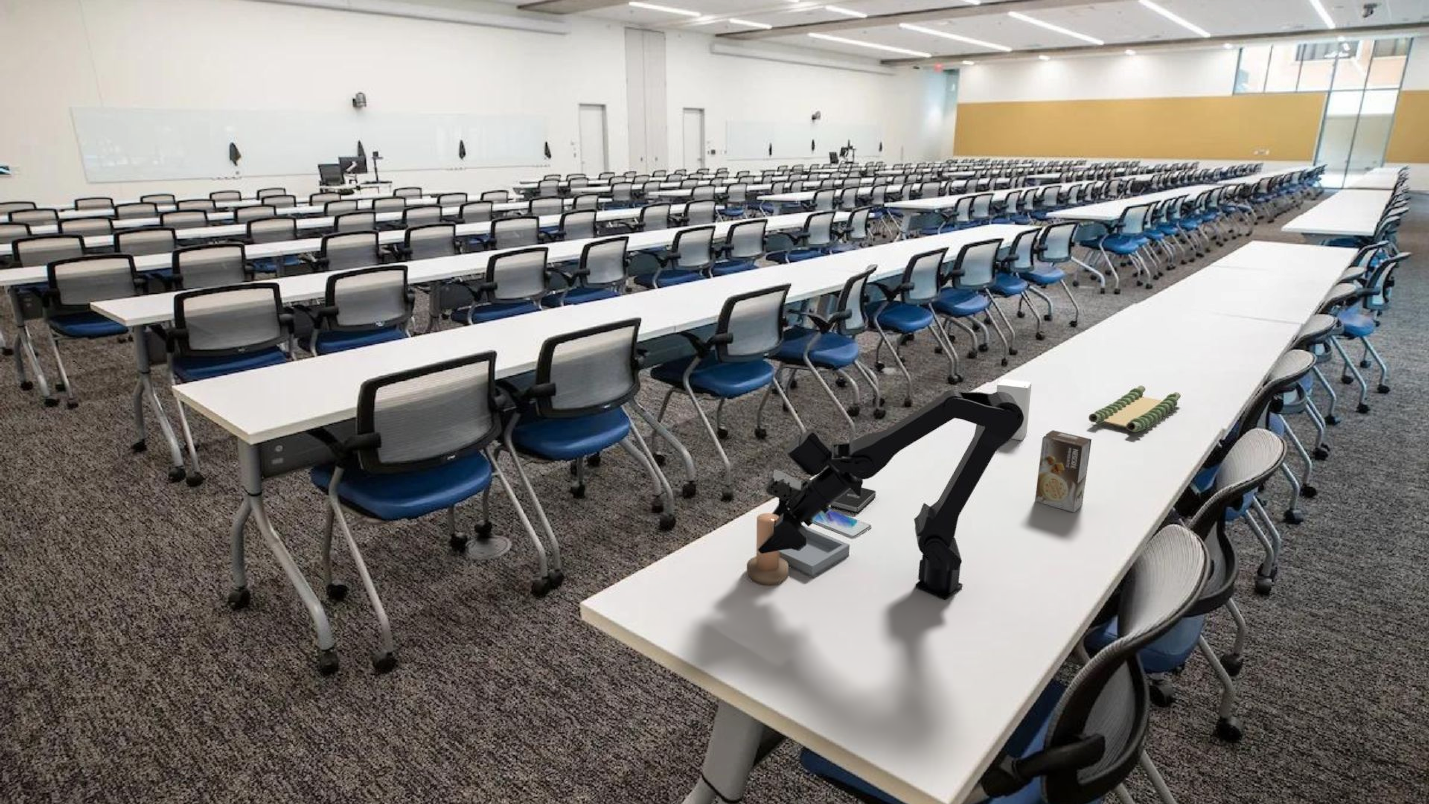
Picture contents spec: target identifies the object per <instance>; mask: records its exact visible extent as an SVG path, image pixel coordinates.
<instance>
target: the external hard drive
mask: <svg viewBox="0 0 1429 804" xmlns="http://www.w3.org/2000/svg"><path fill="white" fill-rule="evenodd" d="M876 493H877V491H876V490H874V489H870V488H866V487H863V486H862V487H861V496H857V495H856V494H855V492H854V491H853V490H852V489H850V490H848V491H847V492H846V493H844V494H843V495H842V496H841V497H839V498H838V499H837V500H836V501H834V502H833V503H832V504H831V505H829V508H831V509H834V508H835V509H836V510H838V511H842V510H843V512H845V511H846V512H845V513H849V512H850V513H849V514H853V513H854V514H853V515H858V514H859V513H860V512H861V511H862V510H863V509H864V507H865V508H866V507H867V506H868V505H869V504H870V503H871V502H872V501H873V500H874V499H875V498H876V496H877V494H876ZM835 509H834V510H835Z"/></svg>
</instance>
